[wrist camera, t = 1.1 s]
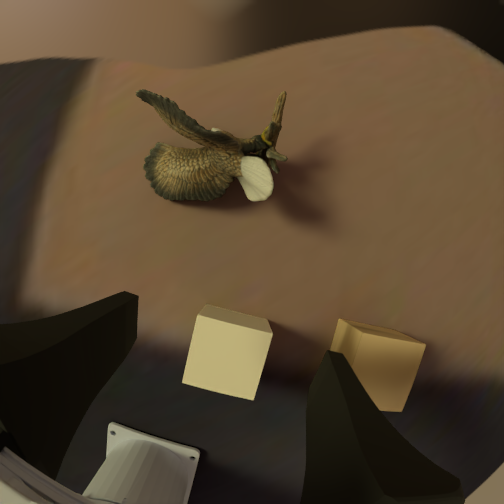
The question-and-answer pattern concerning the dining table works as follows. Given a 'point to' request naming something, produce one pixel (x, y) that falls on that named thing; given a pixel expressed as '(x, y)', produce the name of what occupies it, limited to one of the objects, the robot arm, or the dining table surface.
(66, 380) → the robot arm
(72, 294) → the dining table surface
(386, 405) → the oak base block
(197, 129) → the eagle figurine
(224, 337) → the cream block
